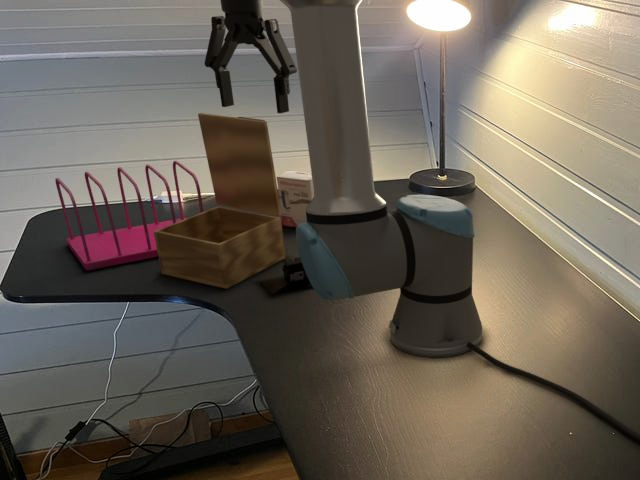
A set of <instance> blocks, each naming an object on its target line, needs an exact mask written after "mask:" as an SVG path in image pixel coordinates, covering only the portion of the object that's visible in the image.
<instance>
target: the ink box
mask: <svg viewBox="0 0 640 480" xmlns="http://www.w3.org/2000/svg"><path fill="white" fill-rule="evenodd" d="M276 183H277V189H278V195H279V201H280V208H281V214H282V215H281V223H282V227H288V228H289V227H290V228H297V226H298V225H299V224H301V223H302V222H307V217H306V207H307V206H308V204H309V203H310V202H311V200H312V199H313V198H314V188H313V180H312V173H311V172H307V171H298V170H297V171H296V170H285V171H284V172H282V173H280V174H278V175H277V176H276Z"/></svg>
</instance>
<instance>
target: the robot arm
mask: <svg viewBox="0 0 640 480" xmlns="http://www.w3.org/2000/svg"><path fill="white" fill-rule="evenodd" d="M279 1H280V2H281V3H282V4H283V5H284V6H285V7H286V8H287V9H289V12H290V17H291V25H292V32H293V41H294V48H295V55H296V64H297V66H296V64H295V62H294V60H293V57H292V55H291V53H290V51H289V49H288V46H287V45H286V42H285V41H284V38H283V35H282V33H281V32H280V25H279V21H278V20H277V18H270V19H265V20H264V17H263V13H264V1H263V0H220V8H221V11H222V12H223V13H224V16H223V15H217V16H215V15H214V16H211V19H210V20H211V21H210V22H211V32H210V36H209V39H208V45H207V48H206V49H207V50H206V54H205V58H204V66H205V67H206V68H209V69H212V71H213V73H214V76H215V84H216V88H217V89H219V96H220V103H221V107H222V108H228V107H231V106H235V102H234V93H233V87H232V80H231V73H230V70H228V65H229V63H230V61H231V59H232V57H233V56H234V53H235V52H236V49H237V47H238V45H241V44H243V45H244V44H245V45H249V46H250V45H253V47H254V48H256V49H258V51H259V53H260V54H261V56H262V57H263V58H264V60H265V61H266V62H267V64H268V65H269V66H270V68H271V69H272V71H273V72H274V73H275V76H274V77H273V86H274V96H275V104H276V112H277V114H284V113H288V112H290V105H289V97H288V96H289V95H290V93H291V89H290V80H289V79H290V76H291V75H294V74H296V73H297V72H298V78H299V86H300V94H301V102H302V103H301V104H302V108H303V109H302V110H303V111H302V112H303V118H304V126H305V132H306V141H307V147H308V156H309V164H310V173H312V180H313V188H314V198H313V199H312V200H311V202H310V203H309V204H308V206H307V207H306V217H307V222H302V223H301V224H299V225H298V226H297V227H295V235H296V236H295V240H296V241H295V242H296V247H297V251H298V255H299V257H300V258H301V261H302V264H303V267H304V270H305V272H306V275H307V277H308V279H309V281H310V283H311V285H312V287H313V288H312V289H313V290H314V291H315V293H316V294H317V295H318V296H319V297H320V298H322V299H324V300H328V301H334V300H342V299H351V300H352V299H354V298H356V297H361V296H366V295H371V294H377V293H381V292H387V291H392V290H399V297H398V299H397V303H396V307H395V309H394V313H393V316H392V319H390V321H389V324H388V328H389V330H390V340H391V342H392V344H393V345H394V346H395V347H396V348H398V350H400V351H402V352H404V353H406V354H410V355H414V356H417V357H424V358H449V357H454V356H460V355H461V354H465V353H468V352H469V351H473V352H474V353H476V354H477V355H479V356H481V357H482V358H483V359H485V360H486V361H488V362H489V363H491V364H493V365H495V366H496V367H498V368H500V369H502V370H505V371H507V372H509V373H513V374H515V375H518V376H521V377H524V378H526V379H528V380H531V381H533V382H535V383H539V384H541V385H544V386H546V387H547V388H550V389H552V390H555V391H557V392H559V393H561V394H563V395H565V396H567V397H568V398H571V399H572V400H574V401H576V402H578V403H579V404H581V405H583V406H584V407H585V408H587V409H588V410H590V411H591V412H593V413H594V414H595V415H597V416H598V417H600V418H602V419H603V420H605V421H606V422H608V423H610V424H611V425H613V427H615V428H617V429H618V430H620V431H621V432H622V433H624V434H626V435H627V436H628V437H630V438H631V439H633V440H635V441H636V442H639V443H640V434H639V433H638V432H636V431H634V430H633V429H631V428H629V427H628V426H627V425H625V424H623V423H622V422H621V421H619V420H618V419H617V418H615V417H613V416H612V415H611V414H608V413H607V412H606V411H604V410H603V409H601V408H599V407H598V406H597V405H595V404H594V403H592V402H590V401H589V400H587V399H586V398H585V397H583V396H581V395H580V394H578V393H575V392H574V391H572V390H570V389H568V388H566V387H564V386H562V385H560V384H557V383H555V382H553V381H550V380H548V379H546V378H543V377H541V376H539V375H536V374H533V373H532V372H528V371H526V370H523V369H520V368H517V367H516V366H515V367H514V366H512V365H510V364H507V363H504V362H502V361H501V360H498V359H497V358H495V357H493V356H491V354H489V353H487V351H485V350H483V349H481V348H480V347H478V346H479V345H480V343H481V342H482V339H483V325H482V321H481V317H480V314H479V311H478V309H477V305H476V303H475V299H474V296H473V269H474V268H473V267H474V266H473V265H474V264H473V263H474V259H473V258H474V238H475V232H474V231H475V230H474V216H473V213H472V211H471V209H470V208H469V207H468V206H467V205H466V204H464V203H463V202H460V201H457V200H455V199H451V198H447V197H443V196H438V195H430V194H407V195H404V196H401V197H400V198H398V199H397V202H396V204H395V208H396V210H392V211H388V207H387V206H388V205H387V201H385V200H384V199H383V198H382V197H381V196H380V195H379V194H378V193H377V192H376V190H375V182H374V169H373V162H372V160H373V159H372V150H371V141H370V140H371V139H370V131H369V121H368V119H369V118H368V110H367V109H368V108H367V101H366V100H367V98H366V89H365V80H364V69H363V60H362V59H363V58H362V50H361V40H360V28H359V19H358V18H359V17H358V8H359V6H360V4H361V3H362V2H363V0H279ZM226 30H227V33H226ZM264 32H265V33H266V34H265V33H264Z"/></svg>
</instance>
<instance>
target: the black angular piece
mask: <svg viewBox="0 0 640 480" xmlns="http://www.w3.org/2000/svg"><path fill="white" fill-rule="evenodd" d="M282 273H283V276H281V277H275V278H270V279H266V280H261V281H260V285H261V286H262V287H263V288H264V289H265V290H266V291H267V292H268V293H269V294H270V295H271V296H272V297H274V296H280V295H285V294H289V293H294V292H298V291H303V290H304V291H305V290H309V289H314V288H313V287H312V285H311V283H310V281H309V279H308V277H307V275H306V272H305V270H304V267H303V264H302V261H301V258H300V256H299V257H293V259H292V258H288V259H283V264H282Z"/></svg>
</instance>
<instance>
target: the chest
mask: <svg viewBox="0 0 640 480" xmlns="http://www.w3.org/2000/svg"><path fill="white" fill-rule="evenodd" d="M185 218H186V219H184V220H181V221H179V222H176V223H174V224H171V225H168V226H166V227H163V228H161V229H158V230H155V231H153V233H154V237H155V242H156V247H157V252H158V261H159V262H158V263H159V267H160V272H161V274H162V275H165V276H169V277H174V278H179V279H182V280H187V281H191V282H196V283H200V284H205V285H209V286H212V287H217V288H220V289H226V290H228V289H229V288H231V287H233V286H236V285H237V284H238V283H240V282H243V281H244V280H246V279H249V278H250V277H252V276H253V275H256V274H258V273H259V272H262V271H264V270H265V269H267V268H269V267H271V266H273V265H274V264H275V265H276V264H277V263H279V262H281V261H283V260H285V259H286V252H285V243H284V235H283V223H282V217H280V216H276V215H270V214H265V213H259V212H254V211H249V210H243V209H238V208H232V207H227V206H221V205H217V206H215V207H212V208H210V209H207V210H205V211H204V212H202V213H200V212H199V213H197V214H194V215H192V216H189V217H185Z"/></svg>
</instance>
